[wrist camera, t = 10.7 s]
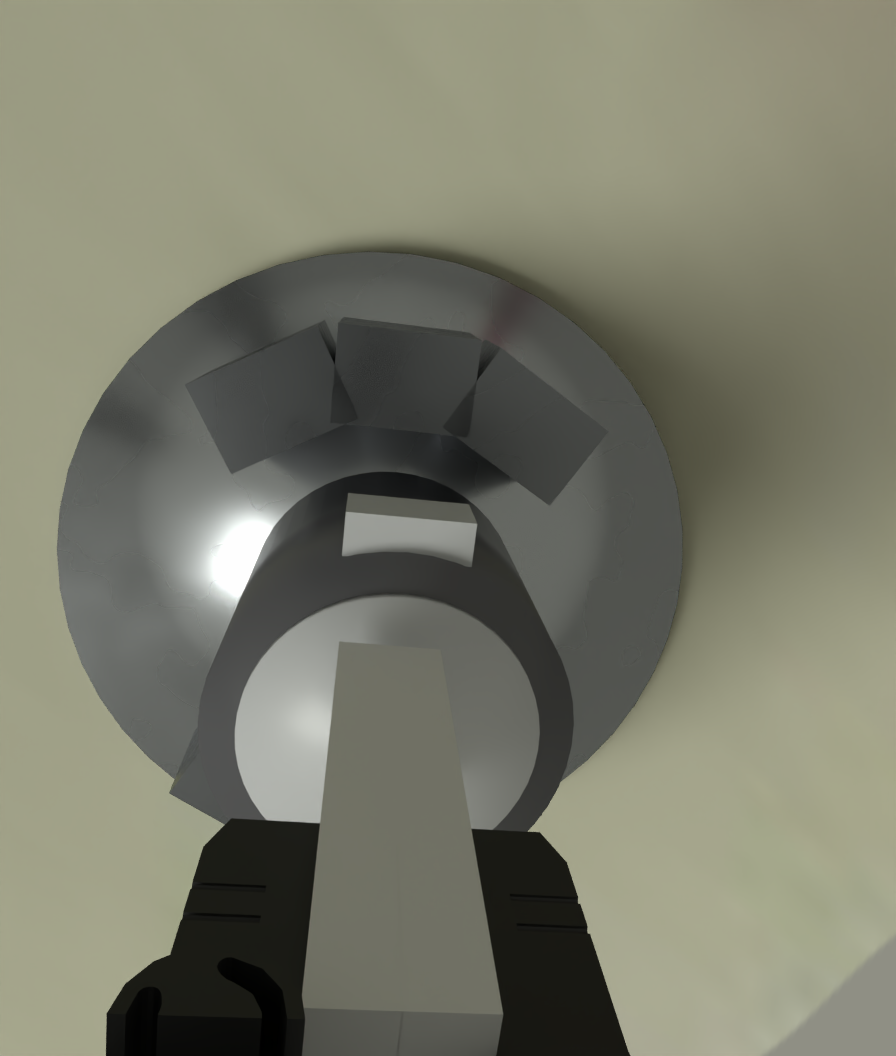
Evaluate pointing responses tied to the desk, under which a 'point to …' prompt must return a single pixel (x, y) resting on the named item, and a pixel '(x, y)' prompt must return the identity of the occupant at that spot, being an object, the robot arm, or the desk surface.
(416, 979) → the robot arm
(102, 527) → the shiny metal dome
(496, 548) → the dark grey short cylinder
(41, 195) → the desk surface
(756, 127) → the desk surface
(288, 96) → the desk surface
